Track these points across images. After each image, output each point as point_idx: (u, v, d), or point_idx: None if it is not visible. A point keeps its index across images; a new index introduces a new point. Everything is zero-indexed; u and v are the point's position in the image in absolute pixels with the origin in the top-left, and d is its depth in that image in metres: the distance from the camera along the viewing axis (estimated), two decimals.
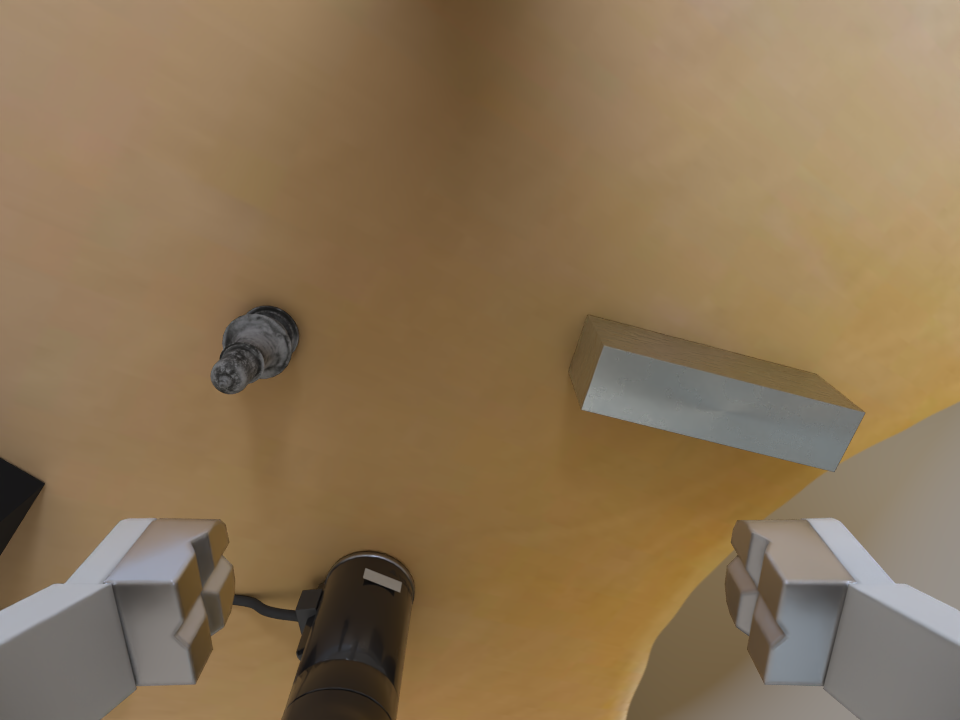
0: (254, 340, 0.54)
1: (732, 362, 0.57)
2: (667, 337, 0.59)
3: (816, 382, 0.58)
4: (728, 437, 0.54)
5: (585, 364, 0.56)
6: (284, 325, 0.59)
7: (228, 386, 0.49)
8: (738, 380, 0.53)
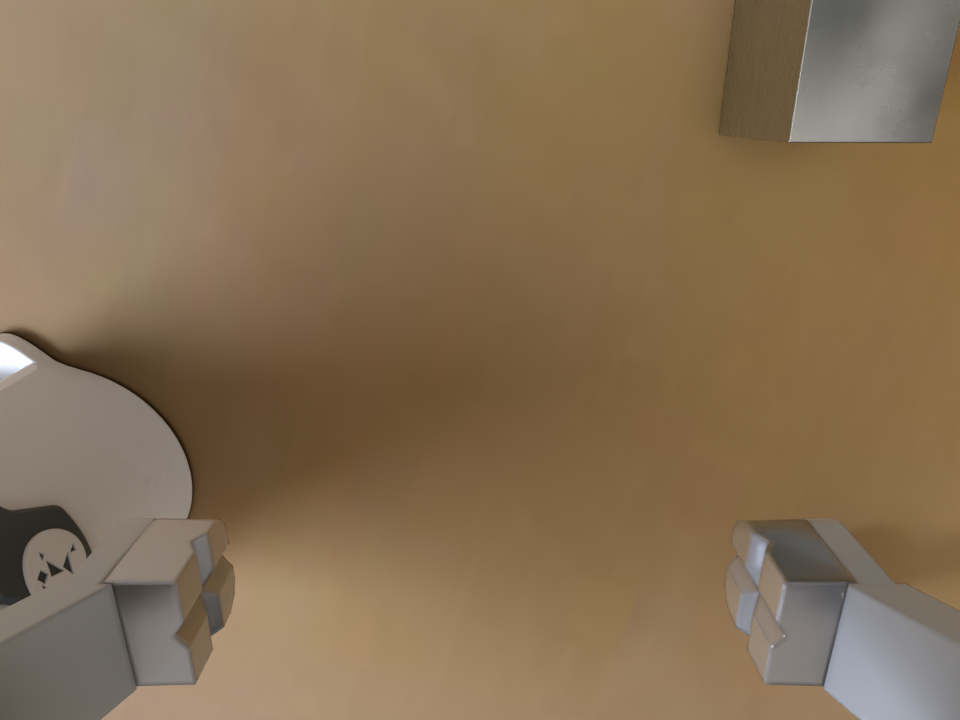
0: None
1: None
2: None
3: None
4: None
5: None
6: None
7: None
8: None
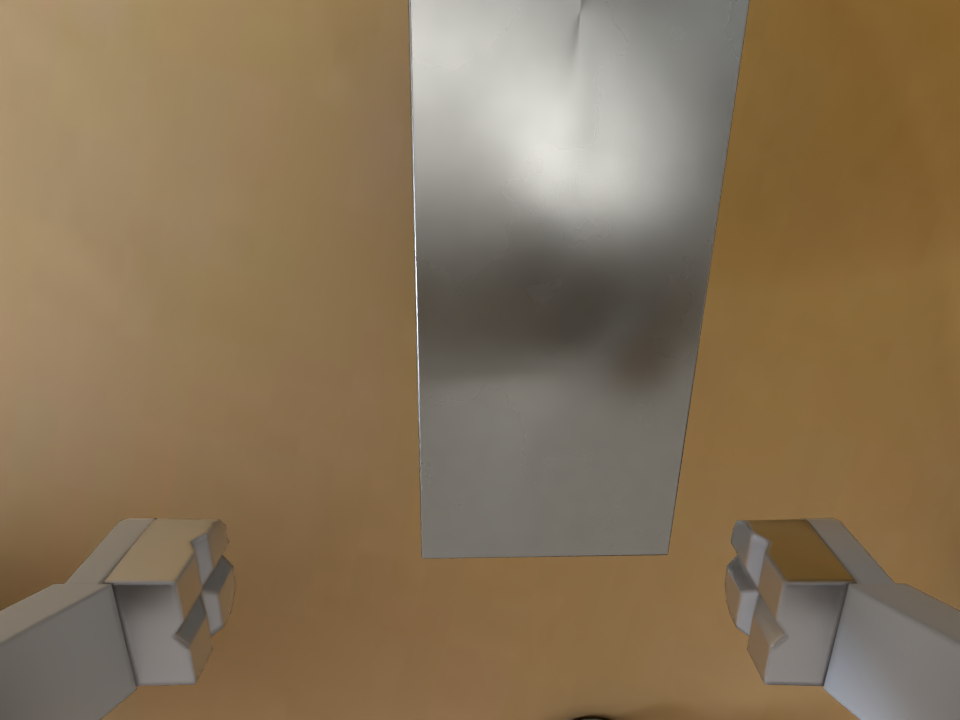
0: None
1: None
2: None
3: None
4: None
5: None
6: None
7: None
8: None
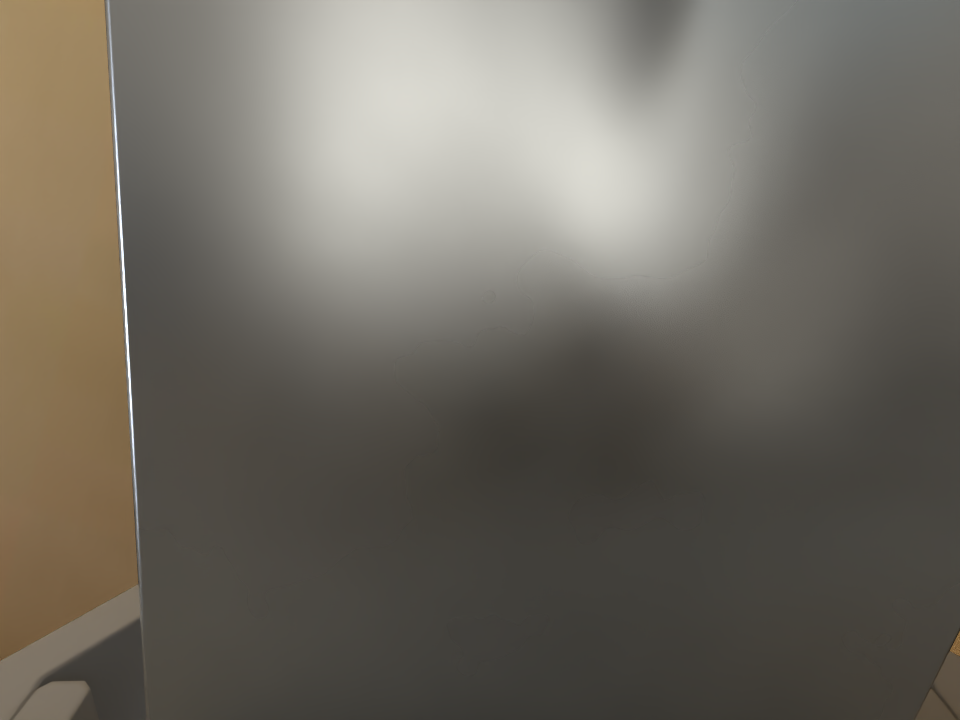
0: None
1: None
2: None
3: None
4: None
5: None
6: None
7: None
8: None
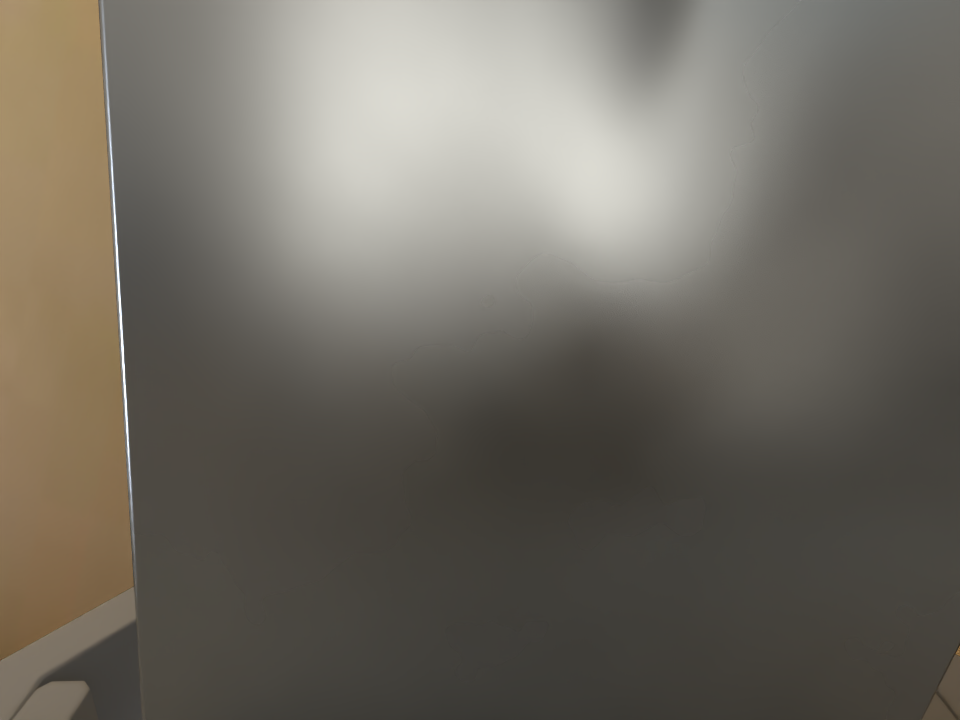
0: None
1: None
2: None
3: None
4: None
5: None
6: None
7: None
8: None
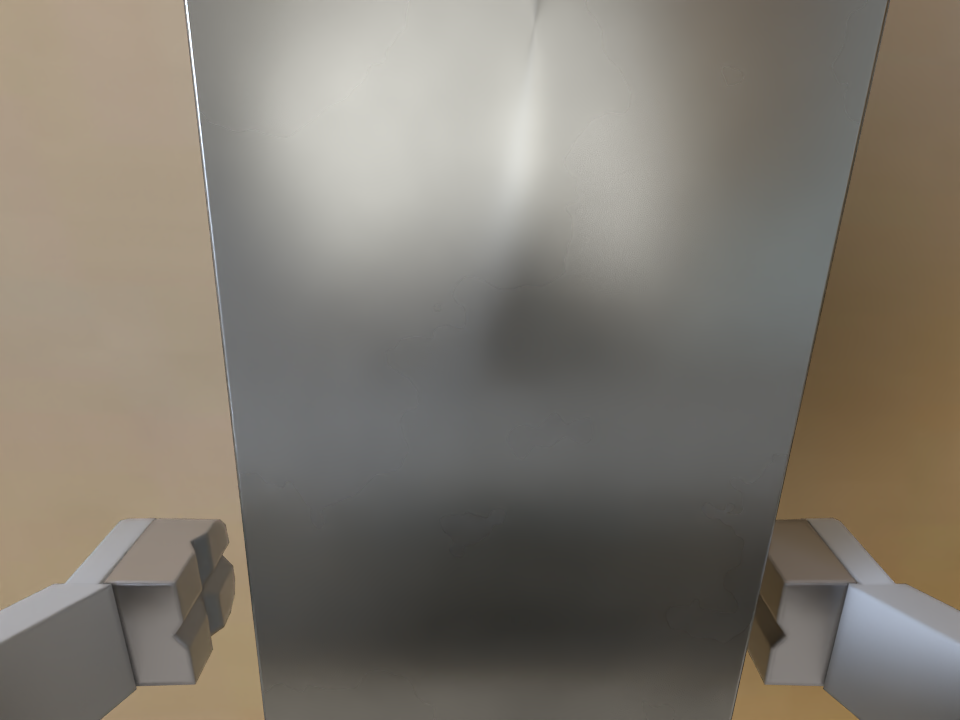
0: None
1: None
2: None
3: None
4: None
5: None
6: None
7: None
8: None
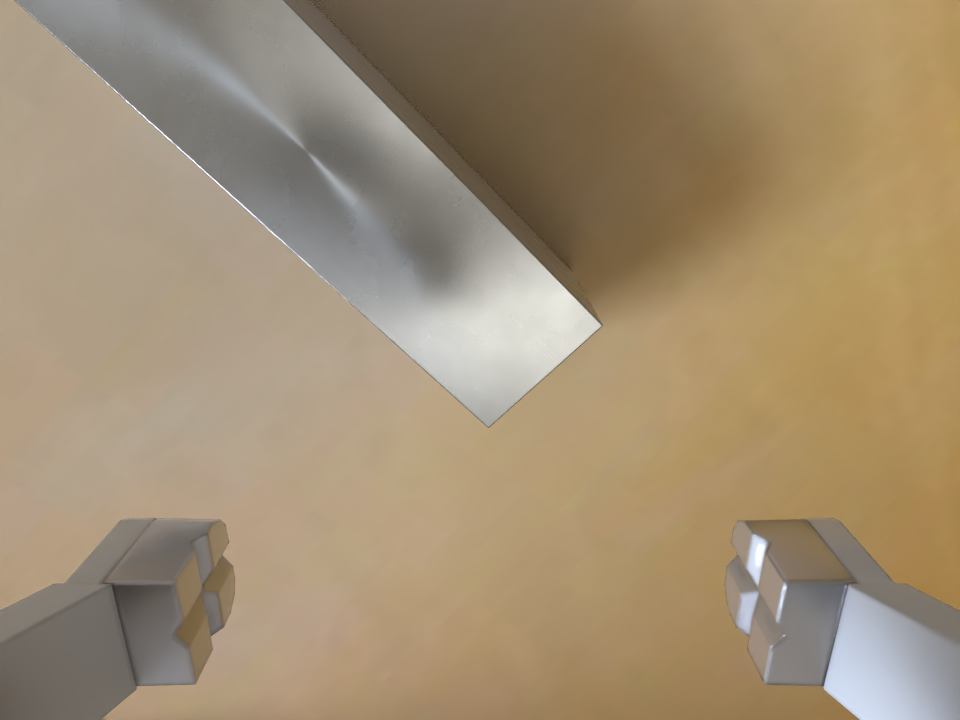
0: None
1: None
2: None
3: None
4: (319, 70, 0.20)
5: None
6: None
7: None
8: (249, 210, 0.22)
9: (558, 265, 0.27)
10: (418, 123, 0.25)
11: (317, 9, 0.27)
